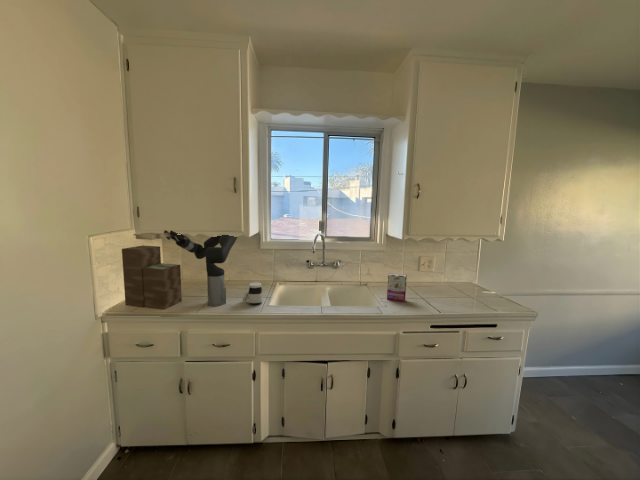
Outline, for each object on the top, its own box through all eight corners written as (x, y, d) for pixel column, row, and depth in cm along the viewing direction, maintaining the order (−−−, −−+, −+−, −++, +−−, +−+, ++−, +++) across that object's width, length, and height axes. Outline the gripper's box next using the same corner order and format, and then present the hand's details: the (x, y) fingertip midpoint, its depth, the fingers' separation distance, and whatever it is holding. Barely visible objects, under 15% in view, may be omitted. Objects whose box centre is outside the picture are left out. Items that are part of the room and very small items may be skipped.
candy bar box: (405, 299, 170) (407, 274, 168) (404, 302, 166) (406, 276, 163) (387, 297, 174) (389, 272, 172) (386, 299, 170) (388, 274, 168)
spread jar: (261, 306, 153) (261, 286, 151) (241, 306, 151) (241, 286, 150) (262, 298, 165) (262, 280, 163) (243, 299, 163) (243, 280, 161)
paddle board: (169, 234, 166) (168, 230, 166) (183, 235, 164) (183, 231, 164) (136, 238, 143) (135, 234, 142) (152, 239, 141) (151, 235, 141)
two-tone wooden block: (145, 297, 161) (142, 245, 157) (181, 301, 157) (179, 247, 152) (125, 305, 148) (121, 248, 144) (164, 309, 143) (161, 251, 139)
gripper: (177, 237, 176) (159, 225, 161) (196, 238, 174) (180, 226, 158) (173, 247, 174) (155, 237, 158) (193, 248, 171) (176, 238, 155)
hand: (167, 231), depth 158 cm, fingers closed on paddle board, 3 cm apart
